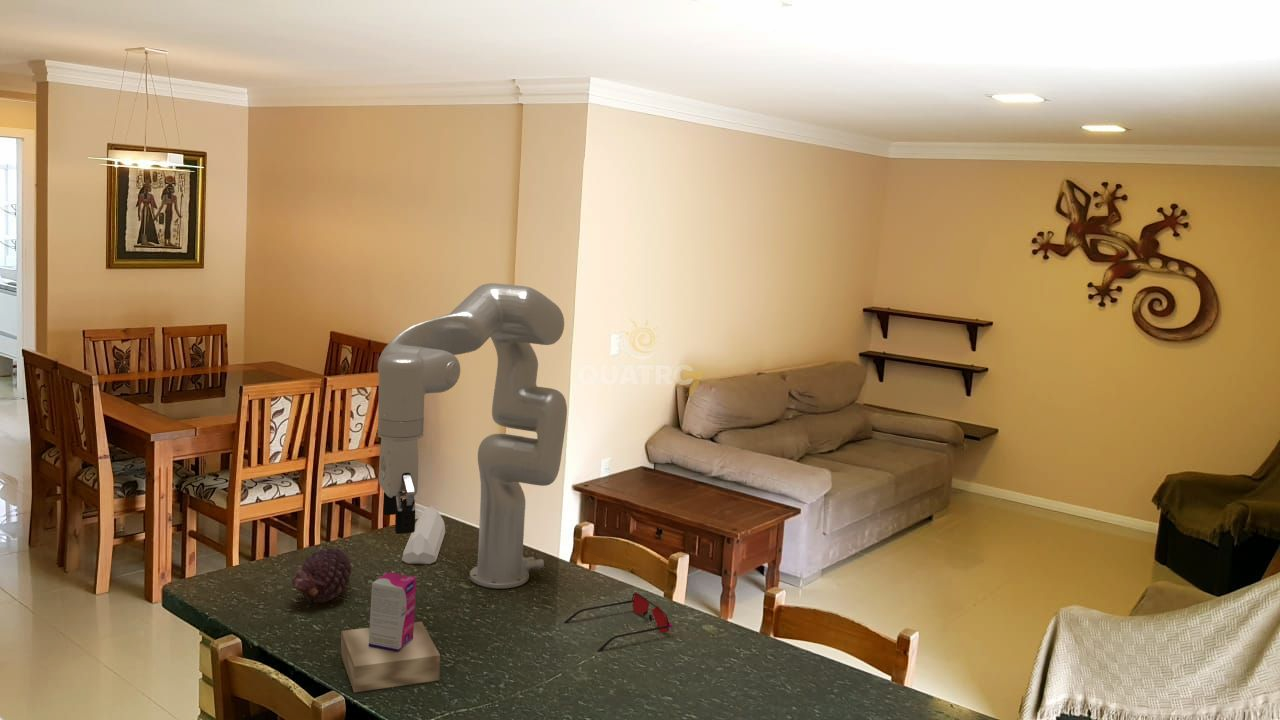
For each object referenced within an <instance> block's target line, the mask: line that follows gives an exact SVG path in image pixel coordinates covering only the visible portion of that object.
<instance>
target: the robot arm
mask: <svg viewBox="0 0 1280 720" xmlns="http://www.w3.org/2000/svg"><path fill="white" fill-rule="evenodd" d="M564 329H565V318H564V314H563V312H562V310H561V308H560V307H559V306H558V305H557V303H555V302H554V301H552V300H551V299H550V298H548V297H547V296H546V295H544V294H543V293H541V292H540V291H538V290H537V289H534V288H532V287H531V286H530V287H529V286H523V285H514V284H505V283H494V282H492V283H491V282H489V283H485V284H481V285H479V286H478V287H477V288H475V289H474V290H473V291H472V292H471V293H470V294H469V295H468V296H467V297H466V298H465V299H463V301H461V302H460V303H459V304H458V305H457V306H456V307H455V308H454V309H453V310H452V311H450V313H447V314H443V315H440V316H437V317H434V318H431V319H429V320H426V321H423V322H419V323H417V324H414V325H412V326H409V327H408V328H405V329H404V330H402V331H401V332H399V333H398V334H397V335H396V336H395V337H394V338H393V339H392V340H391V341H389V342H388V343H387V345H386V346H385V347H384V349H383V350H382V352H381V354H380V356H379V358H378V363H377V371H378V401H377V402H378V408H377V409H378V411H377V412H378V413H377V415H378V417H377V419H378V420H377V436H378V437H379V438H381V439H380V450H379V464H378V466H379V467H378V484H379V486H380V488H381V489H382V491H383V508H382V509H383V514H384V516H390V515H392V516H394V515H395V519H394V521H395V522H394V524H395V525H394V532H395V534H397V535H401V534H411V533H413V532H414V531H415V524H416V499H415V495H417V493H418V490H419V489H418V488H419V442H418V441H419V439H421V438H422V437H424V424H425V423H424V421H425V420H424V419H425V417H424V415H425V409H424V408H425V395H426V394H427V395H428V394H441V393H445V392H447V391H449V390H450V389H452V388H453V387H454V386H455V385H456V384H457V383H458V381H459V379H460V375H461V364H460V361H459V359H458V358H457V357H456V356H457V355H462V354H467V353H472V352H475V351H477V350H479V349H480V348H481V347H483V345H484V344H485V343H486V342H487V341H488V340H489V339H491V341H492V343H493V346H494V348H495V351H496V356H497V369H496V375H495V382H494V389H493V396H492V397H493V399H492V405H491V416H492V420H493V421H494V422H495V423H496V424H497V425H498V426H500V427H504V428H508V429H513V430H521V431H527V432H534V433H536V437H537V438H533V437H527V436H526V437H525V436H522V435H521V436H520V435H516V434H515V435H514V434H509V433H508V434H507V433H493V434H490V435H488V436H486V437H485V438H483V439H482V440H481V442H480V444H479V446H478V448H477V465H478V470H479V479H480V506H479V507H480V508H479V523H478V524H479V529H478V531H479V532H478V547H477V548H478V549H477V565H476V566H474V567H473V568H471V570H470V571H469V579H470V581H471V582H473V583H474V584H475V585H478V586H481V587H484V588H488V589H510V588H516V587H520V586H522V585H524V584H525V583H527V582H528V580H529V579H530V574H529V572H530V570H531V569H536V570H537V569H543V568H544V567H545V562H544V559H543V558H539V559H535V557H534V556H528V557H524V555H523V553H524V539H525V517H526V496H525V493H524V490H523V488H522V486H521V483H522V484H527V485H534V486H540V487H541V486H542V487H544V486H545V487H547V486H549V485H551V484H553V483H554V482H555V481H556V479H557V477H558V474H559V472H560V468H561V462H562V461H561V460H562V454H563V448H564V441H565V432H566V425H567V415H568V407H567V401H566V397H565V395H563V393H562V392H561V391H559V390H557V389H554V388H551V387H542V386H538V385H537V377H538V368H539V361H538V357H537V355H536V352H535V350H534V348H533V347H532V345H531V344H535V345H541V346H542V345H543V346H550V345H554V344H556V343H557V342H558V341H559V340H560V339H561V337H562V335H563V332H564Z"/></svg>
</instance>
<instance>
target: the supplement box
mask: <svg viewBox="0 0 1280 720" xmlns="http://www.w3.org/2000/svg"><path fill="white" fill-rule="evenodd" d="M417 580H418V579H417V577H416V576H411V575H405V574H400V573H394V572H389V571H388V572H385V573H384V574H383V575H381V576H380V577H378V578H377V579H376V580H375V581H373V582H371V596H370V597H371V598H370V614H369V615H370V616H369V628H370V630H369V645H368V646H369V647H373V648H379V649H384V650H389V651H395V652H399V651H400V650H401V648H403V647H404V646H405V645H406V644H407V643H408V642H409V641H411V640H412V639H413V631H414V622H415V615H416V614H415V611H416V597H417V595H416V593H417V582H418V581H417Z"/></svg>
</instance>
